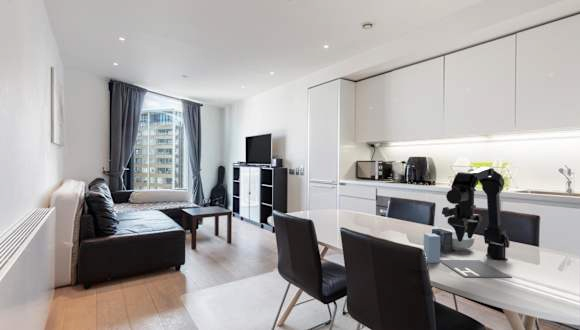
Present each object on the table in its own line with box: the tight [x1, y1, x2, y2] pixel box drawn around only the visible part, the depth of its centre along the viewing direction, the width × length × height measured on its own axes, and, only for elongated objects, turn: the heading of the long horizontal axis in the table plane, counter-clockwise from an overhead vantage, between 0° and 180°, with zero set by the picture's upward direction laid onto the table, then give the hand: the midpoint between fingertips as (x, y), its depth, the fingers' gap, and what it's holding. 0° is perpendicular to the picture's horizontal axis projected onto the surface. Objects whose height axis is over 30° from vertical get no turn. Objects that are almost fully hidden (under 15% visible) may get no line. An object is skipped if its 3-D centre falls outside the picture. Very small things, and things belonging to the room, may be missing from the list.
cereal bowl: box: [451, 231, 475, 251], centre depth 151 cm, size 17×17×7 cm
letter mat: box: [440, 259, 512, 279], centre depth 122 cm, size 19×19×1 cm
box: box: [431, 228, 453, 255], centre depth 146 cm, size 8×6×11 cm
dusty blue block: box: [423, 233, 441, 264], centre depth 131 cm, size 5×5×12 cm
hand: (464, 239), depth 118 cm, fingers open, 9 cm apart
